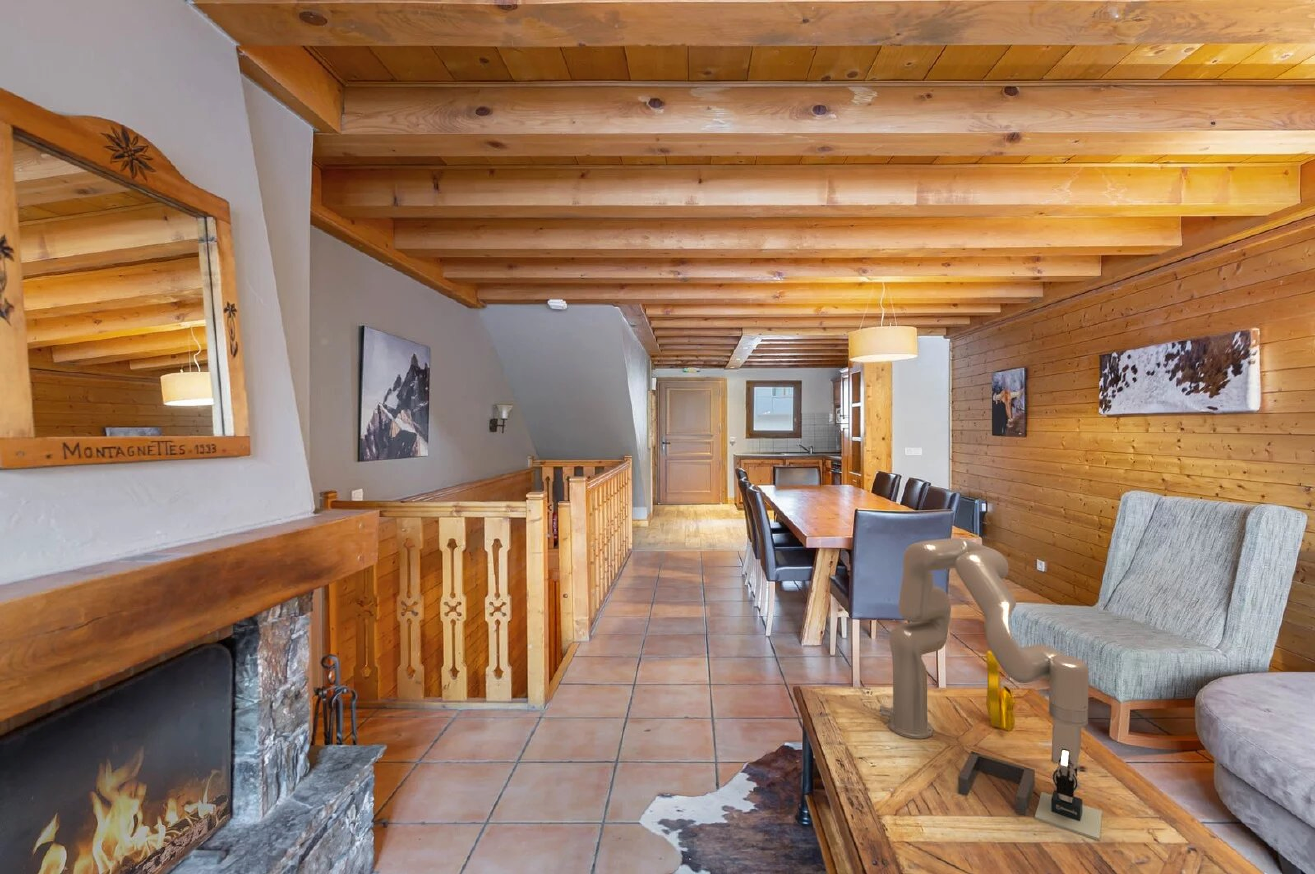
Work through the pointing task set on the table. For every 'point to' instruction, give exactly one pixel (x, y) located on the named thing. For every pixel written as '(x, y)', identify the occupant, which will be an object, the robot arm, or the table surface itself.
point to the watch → (1066, 801)
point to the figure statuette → (998, 697)
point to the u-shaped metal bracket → (999, 770)
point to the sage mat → (1085, 826)
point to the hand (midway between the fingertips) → (1066, 784)
